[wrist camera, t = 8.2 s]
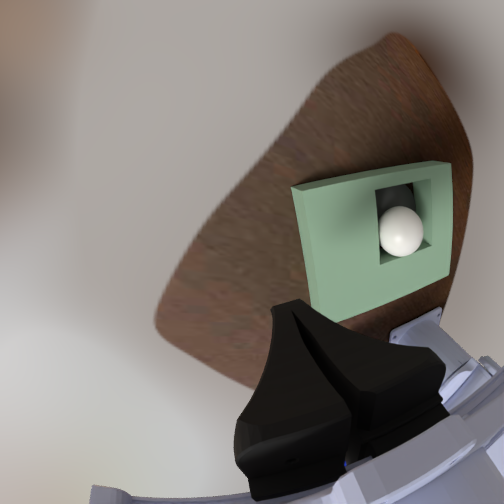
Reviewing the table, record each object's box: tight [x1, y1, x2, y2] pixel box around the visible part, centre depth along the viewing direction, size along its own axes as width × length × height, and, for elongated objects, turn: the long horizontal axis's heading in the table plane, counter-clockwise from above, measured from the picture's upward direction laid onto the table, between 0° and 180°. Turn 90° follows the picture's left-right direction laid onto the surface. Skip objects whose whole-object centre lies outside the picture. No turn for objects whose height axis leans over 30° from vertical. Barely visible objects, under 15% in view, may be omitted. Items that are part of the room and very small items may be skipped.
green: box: [291, 161, 453, 322], centre depth 20 cm, size 11×14×2 cm
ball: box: [378, 206, 424, 257], centre depth 19 cm, size 4×4×4 cm
